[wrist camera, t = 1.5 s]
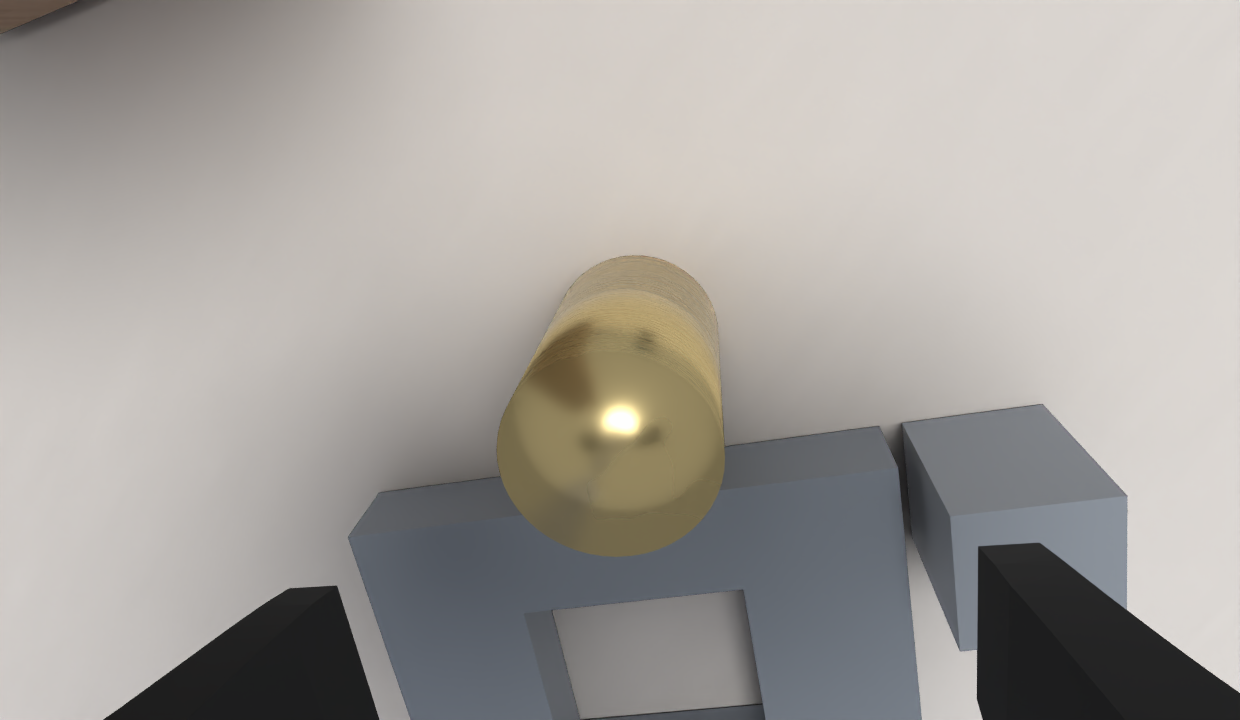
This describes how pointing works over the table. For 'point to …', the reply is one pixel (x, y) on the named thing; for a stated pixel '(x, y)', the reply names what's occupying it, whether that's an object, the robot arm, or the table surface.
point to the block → (26, 11)
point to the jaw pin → (619, 413)
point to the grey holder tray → (743, 567)
